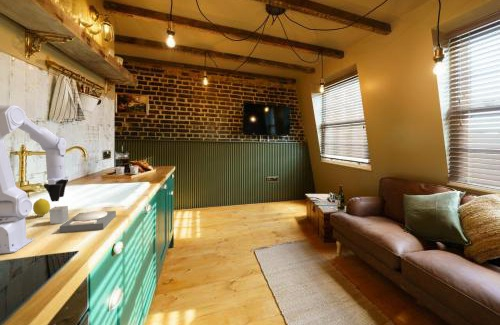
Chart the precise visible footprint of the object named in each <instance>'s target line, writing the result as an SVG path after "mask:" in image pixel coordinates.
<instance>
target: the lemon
mask: <svg viewBox="0 0 500 325" xmlns="http://www.w3.org/2000/svg"><path fill="white" fill-rule="evenodd" d="M50 209H51V205H50V202H49V201H48V200H47V199H45V198H39V199H37V200H36V201H35V202H34V203H33V204H32V211H33V212H34V214H35V215H37V216H40V217H44V216H45V215H47V214H48V213H49V210H50Z"/></svg>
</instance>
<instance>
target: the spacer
mask: <svg viewBox="0 0 500 325" xmlns="http://www.w3.org/2000/svg"><path fill="white" fill-rule="evenodd" d="M48 213H49V224H50V225H59V224H60V225H62V224H64V223H65V222H67V221H68V220H70V219H69V206H68V205H67V206H66V205H65V206H64V205H63V206H54V207H51V208H50V210H49V212H48Z"/></svg>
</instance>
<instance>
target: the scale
mask: <svg viewBox="0 0 500 325" xmlns="http://www.w3.org/2000/svg"><path fill="white" fill-rule="evenodd" d="M116 217H117V211H116V210H110V211H109V210H108V211H104V210H94V211H86V212H78V213H77V214H76V215H75V216H72V217H71V218H70V219H69V220H68V221H66V222H65V223H62V224H60V225H59V233H62V234H63V233H72V232H73V233H75V232H86V231H98V230H101V231H102V230H105V229H106V227H107V226H108V225H110V223H111V222H113V220H114V219H115V218H116Z"/></svg>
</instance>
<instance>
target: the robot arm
mask: <svg viewBox="0 0 500 325" xmlns="http://www.w3.org/2000/svg"><path fill="white" fill-rule="evenodd" d="M17 129H19V130H21V131H24V132H25V133H27V134H29V135H28V136H29V138H30V139H31V140H32V141H34V142H36V143H38V144H39V146H40V147H41V149H42V150H43V151H44V152H45V164H46V165H45V166H46V180H47V183H44V184H43V187H44V188H45V190H46V191H47V194H48V195H49V198H50V201H51V203H52V202H59V200H60V198H64V196H65V190H66V186H67V185H68V182H69V179H70V176H68V175H66V165H65V164H66V163H65V162H66V161H65V155H66V151H67V148H68V143H67V141H66V139H65V138H63V137H62V136H57V135H55V134H54V133H53V132H52V131H50V130H48V128H47V127H46V126H38V125H37V124H35V123H34V122H33V121H32V120H30V119H29V118H28V117H27V114H26V111H25V110H24V109H22V108H21V107H20V106H18V105H14V104H10V105H5V104H3V105H2V104H0V255H1V254H2V255H3V254H12V253H16V252H18V251H19V250H20V249H22V248H23V247H25V246H26V245H28V244H30V243H31V242H33V241H34V240H35V238H34V237H31V238H27V237H28V235H27V226H26V225H27V223H26V218H27V217H28V216H29V214H30V213H31V212H32V211H33V203H32V201H31V199H30V198H29V196H28V194H27V192H26V191H25V190H23V189H21V188H19V187H17V185H16V184H17V183H16V182H15V181H16V180H15V177H14V173H13V169H12V165H11V161H10V159H9V158H10V157H9V154H8V150H7V147H6V146H7V145H6V143H5V137H6V136H7V135H8V134H11V133H13V132H14V131H15V130H17Z"/></svg>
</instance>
